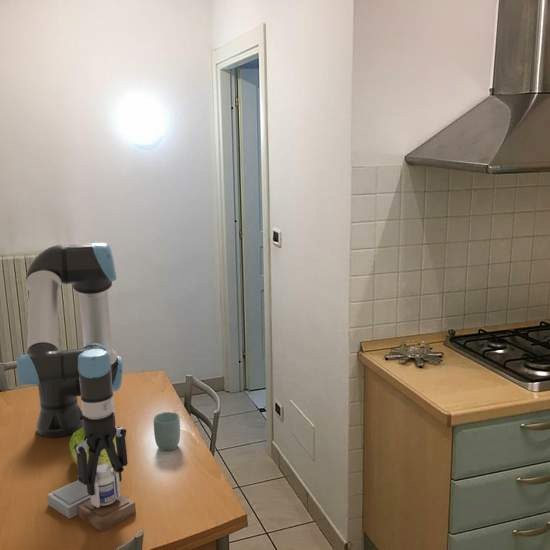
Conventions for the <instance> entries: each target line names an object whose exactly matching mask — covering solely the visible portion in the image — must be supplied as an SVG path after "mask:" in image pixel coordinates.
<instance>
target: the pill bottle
mask: <svg viewBox="0 0 550 550" xmlns="http://www.w3.org/2000/svg"><path fill="white" fill-rule="evenodd" d="M95 481H97V482H98V487H99V498H100V505H101V506H105V505H109V504H111V503H113V502H114V501H115V500H116V488H115V477H114V474H113V473H111V466H110V465H107V464H103V465H99V466H97V472H96V478H95Z"/></svg>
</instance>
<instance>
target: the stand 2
mask: <svg viewBox="0 0 550 550" xmlns="http://www.w3.org/2000/svg"><path fill="white" fill-rule="evenodd" d="M136 509H137V508H136V502H135V501H133V500H131V499H129V498H128V497H126V496H124V495H123V494H121V496H119V497H117V496H116V500H115V501H114V502H113V503H111V504H109V505H105V506H101V505H100V507H98V508H97V507H96V506H94V505H92V504H91V500H89V501H87V502H85V503H83V504H81V505H79V506H78V513H79V514H78V517H79V518H80V519H81V520H83V521H85V522H86V523H87V524H89V525H91V526H92V527H93V528H95V529H97V530H98V531H100V532H102V533H103V532H104V531H106V530H109V529H110V528H111V527H114V526H115V525H117V524H119V523H120V522H122V521H124V520H126V519H128V518H130V517H131V516H134V515H135V514H136V511H137V510H136Z"/></svg>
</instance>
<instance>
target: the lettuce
mask: <svg viewBox="0 0 550 550" xmlns="http://www.w3.org/2000/svg"><path fill="white" fill-rule="evenodd" d="M84 437H85V431H84V426H83V427H82V428H81V429H79V430H78V431H76V432H74V433H73V434H71V438H70V440H69V442H68V450H69V454H70V456H71V461H72V462H73V463H74V464H75V465H76V466H77V467H78V465H77V453H76V451H75V449H74V446H75V445H76V444H77V445H80V444H81V443H82V442H83V441H84ZM115 437H116V436H115ZM115 437H114V439H113V443H114V445H115V450H116V453H117V448H116V438H115ZM88 449H89V446H88V445H87V447H86V450H87V452H86V454H87V464H88V457H89V453H88ZM103 464H107V465H110V466H111V469H113V470H114V468H113V467H112V465H111V462H110V460H109V457H108V454H107V452H106V449H103V450H102V451H101V454H100V456H99V459H98V465H97V466H99V465H103Z"/></svg>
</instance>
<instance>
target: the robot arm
mask: <svg viewBox="0 0 550 550" xmlns="http://www.w3.org/2000/svg"><path fill="white" fill-rule="evenodd" d="M116 280H117V272H116V268H115V261H114V257H113V252H112V249H111V246H110V245H109V244H108V243H106V242H92V243H73V244H59V245H58V244H57V245H53V246H50V247H48V248H46V249H44V250H43V251H41V252H40V253H39V254H38V255H37V256H36V257H35V258H34V260H32V262H31V263H30V264H29V267H28V269H27V272H26V275H25V288H26V290H28V293H29V294H28V311H27V312H28V317H27V341H26V342H27V344H26V345H27V346H26V353H25V354H20V355H18V357H17V359H16V373H17V374H16V375H17V379H18V382H19V383H20V384H22V386H23V385H24V386H27V385H37V386H38V396H39V397H38V398H39V405H40V406H39V407H40V409H39V412H38V413H39V414H38V418H37V421H36V422H37V423H36V432H37V434H38V435H40V436H41V437H44V438H62V437H66V436H70V435H71V436H72V435H73V433H74V432H76V431H78V430H79V429H81V428H82V427H83V426H84V431H85V437H84V441H83V442H82V443H81V444H80V445H77V444H76V445H75V446H74V449H75V451H76V453H77V465H78V466H77V465H76V466H77V478H78V479H77V480H79V482H81V483H83V484H84V485H87V493H88V494H89V495H91V504H92V505H94V506H96V507H97V508H98V507H100V498H99V487H98V482H97V481H95V478H96V472H97V465H98V459H99V456H100V454H101V451H102V450H103V449H106V452H107V454H108V457H109V460H110V462H111V465H112V467H113V468H114V470H113V469H111V473H113V474H114V477H115V488H116V496H117V497H119V496H121V495H122V494H121V485H120V483H121V482H122V472H124V467H126V466H127V465H128V464H129V462H128V454H127V445H126V444H127V443H126V435H127V429H126V428H124V427H121V426H117V425H116V413H115V403H114V402H115V401H114V392H118V391H119V390H120V389H121V387H122V384H123V357H122V356H120V355H118V353H117V351H116V350H115V349H113V347H112V332H111V319H110V307H109V305H110V304H109V294H108V293H109V291H108V290H110V289H111V288H112V286H113V282H114V281H116ZM62 285H72V288H73V291H75V292H76V293H77V294H78V299H79V310H80V319H81V329H82V340H83V348H76V349H75V348H73V349H67V350H59V291H60V289H61V287H62ZM78 397H80V402H81V407H80V404H79V402H78ZM116 426H117V427H116ZM114 437H115V438H116V448H117V453H116V450H115V445H114V443H113V439H114ZM87 445H88V446H89V449H88V453H89V457H88V464H87V454H86V452H87V450H86V447H87Z"/></svg>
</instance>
